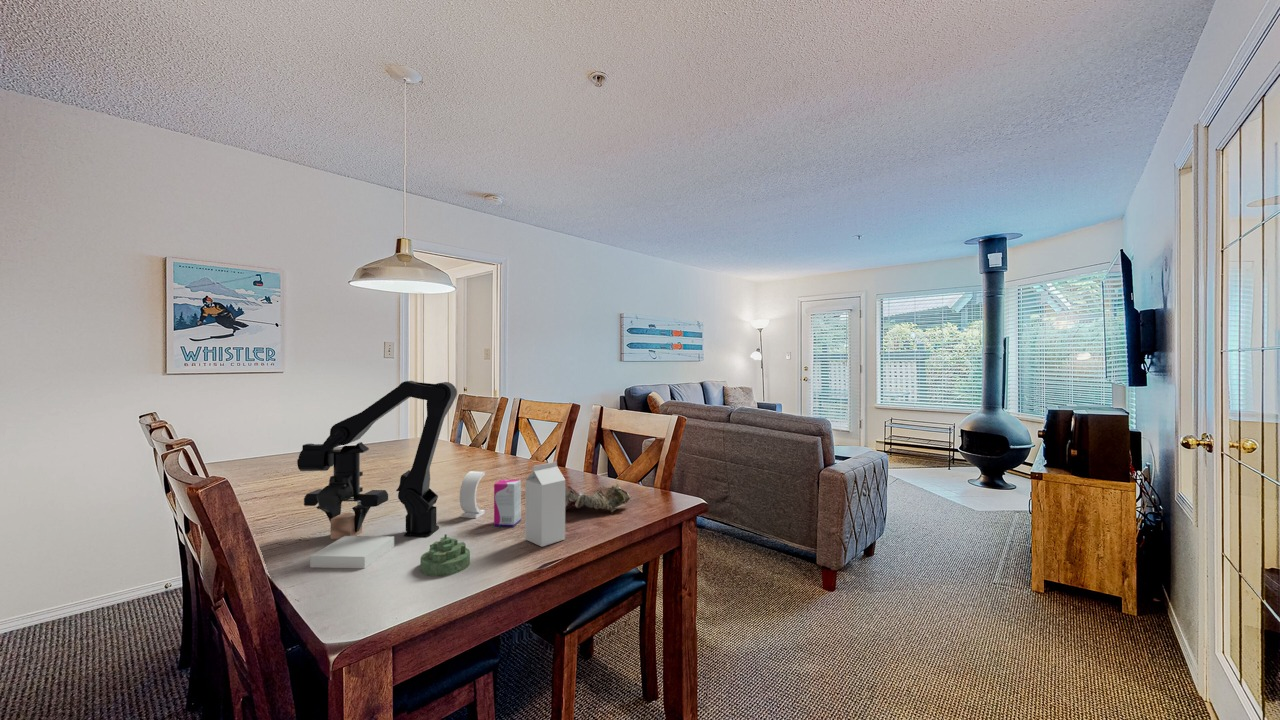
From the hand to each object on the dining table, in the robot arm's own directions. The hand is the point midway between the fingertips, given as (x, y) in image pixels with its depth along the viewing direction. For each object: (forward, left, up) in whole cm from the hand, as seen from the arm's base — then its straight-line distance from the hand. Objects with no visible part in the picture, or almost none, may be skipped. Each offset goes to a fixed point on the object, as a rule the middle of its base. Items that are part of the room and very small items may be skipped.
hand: (346, 531), depth 126 cm
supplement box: (-38, -11, -1) cm, 40 cm away
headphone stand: (-26, -17, -1) cm, 31 cm away
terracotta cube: (0, 0, -1) cm, 1 cm away
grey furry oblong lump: (-59, -24, -1) cm, 64 cm away
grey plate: (-10, +13, -1) cm, 16 cm away
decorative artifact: (-33, +17, -1) cm, 37 cm away
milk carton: (-51, +1, -1) cm, 51 cm away
